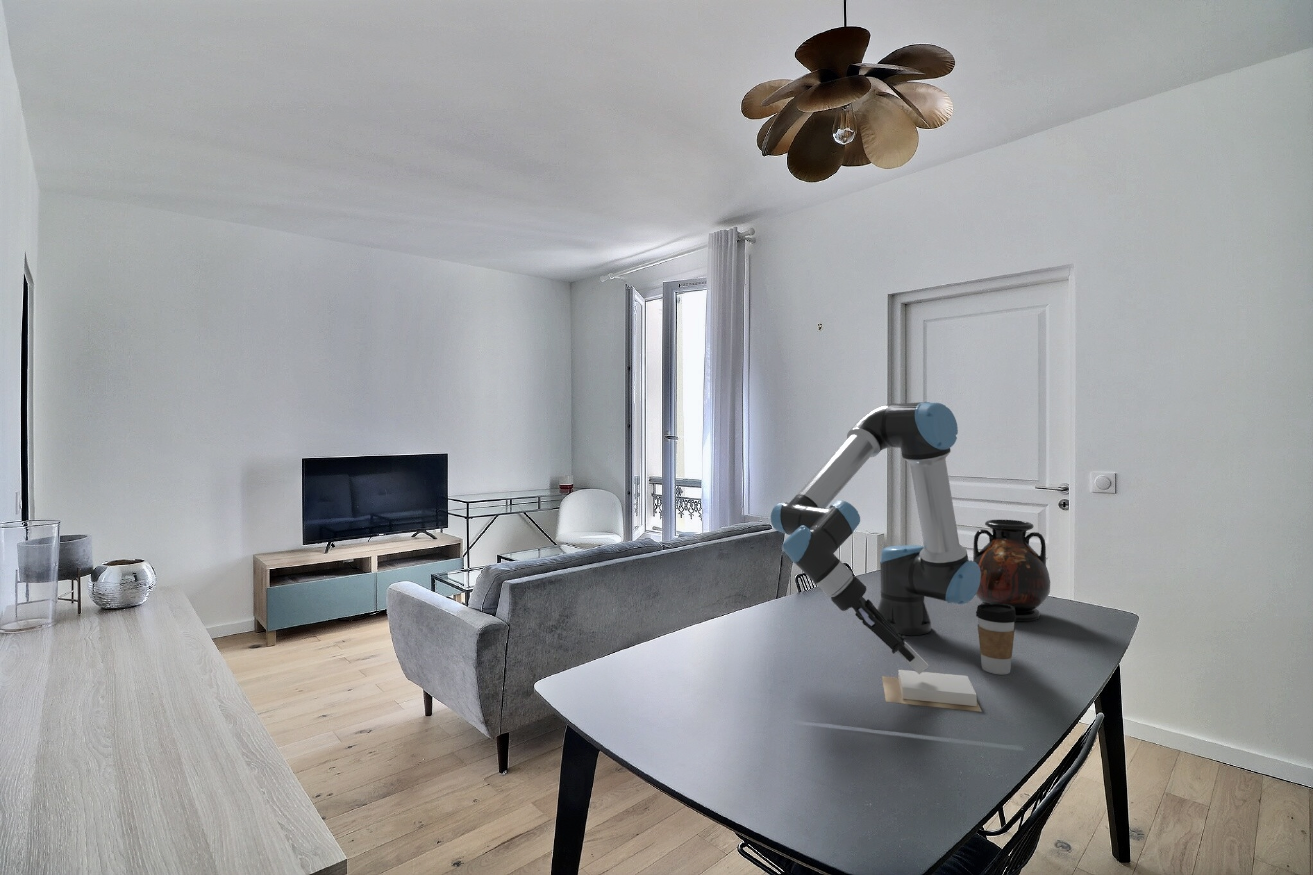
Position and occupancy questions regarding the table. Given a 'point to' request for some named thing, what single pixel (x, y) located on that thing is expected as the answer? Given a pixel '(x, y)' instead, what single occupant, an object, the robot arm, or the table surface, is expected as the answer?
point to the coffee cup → (996, 636)
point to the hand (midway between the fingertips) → (923, 669)
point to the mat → (895, 696)
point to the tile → (937, 687)
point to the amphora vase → (1012, 568)
